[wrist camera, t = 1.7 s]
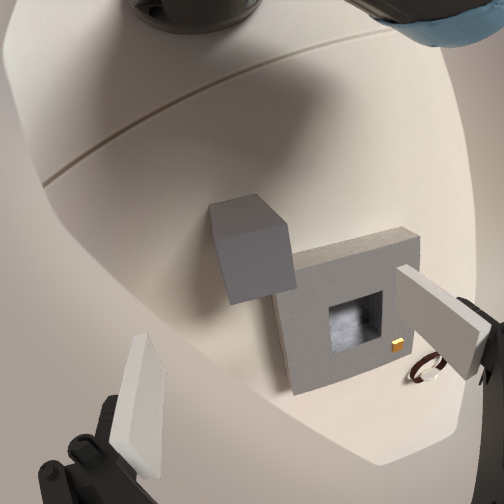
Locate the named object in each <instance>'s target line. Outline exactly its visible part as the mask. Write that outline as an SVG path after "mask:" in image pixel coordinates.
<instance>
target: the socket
mask: <svg viewBox="0 0 504 504" xmlns="http://www.w3.org/2000/svg"><path fill="white" fill-rule="evenodd" d="M292 258H293V264H294V271H295V278H296V285H297V288H296V289H292V290H288V291H285V292H281V293H277V294H273V295H271V296H272V301H273V307H274V312H275V317H276V323H277V328H278V333H279V339H280V344H281V349H282V355H283V360H284V366H285V371H286V376H287V379H288V382H289V384H290V387H291V390H292V392H293V395H294V396H295V395H298V394H302V393H305V392H308V391H312V390H315V389H318V388H321V387H324V386H327V385H330V384H333V383H336V382H339V381H342V380H345V379H348V378H351V377H353V376H356V375H359V374H362V373H364V372H367V371H370V370H372V369H375V368H377V367H380V366H382V365H385V364H387V363H390V362H392V361H394V360H397V359H399V358H402V357H404V356H406V355H408V354H411V352H412V345H413V337H414V329H413V328H412V327H411V326H410V325H409V324H408V323H407V322H406V321H405V320H404V319H403V318H402V317H401V316H400V315H399V314H398V313H397V312H396V311H395V295H396V268H397V267H400V266H403V265H406V264H408V265H409V266H411V267H412V268H414V269H415V270H417V271H418V272H419V266H420V236H419V235H417V234H415V233H413V232H411V231H409V230H408V229H406V228H404V227H398V228H394V229H390V230H386V231H383V232H379V233H375V234H371V235H367V236H363V237H359V238H355V239H351V240H347V241H343V242H339V243H335V244H331V245H327V246H323V247H320V248H316V249H312V250H307V251H303V252H299V253H295V254H292Z"/></svg>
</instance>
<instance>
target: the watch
mask: <svg viewBox="0 0 504 504" xmlns="http://www.w3.org/2000/svg"><path fill="white" fill-rule="evenodd" d="M436 356H440V354H439V353H438V352H434V353H431V354H428V355H427V356H425V357H423V359H421V360H420V361H418V362H417V363H416V364H415V365H414V366H413V368H412V369H411V372H410V378H411V379H412V380H413V381H414V382H415V383H421V382H423V381H432V380H434V379H436V377H437V376H438V372H439V371H440V370H442V369H443V368H444V367H445V365H446V364H447V361H446V360H445V359H444V358H443V357H442V360H441V362H440V363H439V364H438V365H437V366H436V367H434V368H429V369H426V370H425V371H423V372H422V374H421V376H420V377H418V378H415V379H414V376H415V374H416V372H417V371H418V370H419V368H420V367H421V366H422V365H424V364H425V363H427V362H428V361H430V360H432V359H434V358H435V357H436Z"/></svg>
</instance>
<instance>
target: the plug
mask: <svg viewBox="0 0 504 504" xmlns="http://www.w3.org/2000/svg"><path fill="white" fill-rule="evenodd" d="M209 208H210V215H211V223H212V230H213V237H214V243H215V247H216V251H217V255H218V259H219V263H220V266H221V270H222V274H223V278H224V282H225V286H226V290H227V294H228V297H229V301H230V305H233V304H237V303H241V302H245V301H249V300H253V299H257V298H261V297H265V296H269V295H273V294H277V293H281V292H285V291H288V290H292V289H296V288H297V285H296V278H295V271H294V264H293V258H292V251H291V245H290V239H289V232H288V226H287V223H286V222H285V221H284V220H283V219H282V218H281V217H280V216H279V215H278V214H277V213H276V212H275V211H274V210H273V209H272V208H270V207H269V206H268V205H267V204H266V203H265V202H264V201H263V200H262V199H261V198H260V197H259V196H258V195H257V194H255V195H250V196H246V197H241V198H237V199H233V200H228V201H224V202H220V203H215V204H211V205H209Z"/></svg>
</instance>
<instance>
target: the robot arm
mask: <svg viewBox="0 0 504 504" xmlns="http://www.w3.org/2000/svg"><path fill="white" fill-rule="evenodd" d="M261 1H262V0H128V2H129V4H130V6H131V8H132V9H133V11H134V12H135V13H136V15H137V16H138V17H139V18H140V19H142V20H143V21H144V22H146V23H147V24H149V25H151V26H153V27H155V28H157V29H160V30H163V31H167V32H171V33H177V34H203V33H209V32H214V31H218V30H221V29H224V28H227V27H230V26H232V25H234V24H236V23H238V22H240V21H241V20H243V19H244V18H246V17H247V16H248V15H250V14H251V13H252V12H253V11H254V10H255V9H256V8H257V7H258V5H259V4H260V3H261ZM344 1H346V2H348V3H350V4H352V5H353V6H355V7H357V8H359V9H360V10H362V11H364V12H366V13H367V14H369V16H370V17H371V18H373V19H374V20H376V21H377V22H379V23H381V24H383V25H386V26H389V27H392V28H394V29H395V30H397V31H399V32H400V33H402V34H404V35H405V36H407V37H408V38H410V39H412V40H413V41H415V42H417V43H420V44H422V45H425V46H429V47H444V48H454V47H455V48H456V47H462V46H466V45H470V44H473V43H476V42H479V41H481V40H483V39H485V38H487V37H489V36H491V35H493V34H494V33H496V32H497V31H499V30H500V29H501V28H503V27H504V0H344ZM395 311H396V312H397V313H398V314H399V315H400V316H401V317H402V318H403V319H404V320H405V321H406V322H407V323H408V324H409V325H410V326H411V327H412V328H413V329H414V330H416V331H417V332H418V333H419V334H420V335H421V336H422V337H423V338H424V339H425V340H426V341H427V342H428V343H429V344H430V345H431V346H432V347H433V348H434V349H435V350H436V351H437V352H438V353H439V354H440V355H441V356H442V357H443V358H444V359H445V360H446V361H447V362H448V363H449V364H450V365H451V366H452V367H453V368H454V369H455V371H456V372H457V373H458V374H459V375H460V376H461V377H462V378H463V379H464V380H465V381H466V380H467V379H469V378H471V377H472V376H474V375H475V374H477V372H478V368H479V366H480V364H481V365H483V366H484V367H485V368H484V370H483V374H482V376H481V379H480V382H479V385H481V383H482V381H483V417H482V433H481V445H480V455H479V463H478V470H477V476H476V483H475V488H474V494H473V498H472V502H471V504H504V322H503V323H498V322H497V321H496V320H494V319H493V318H492V317H490V316H489V315H488V314H486V313H485V312H484V311H482V310H480V309H479V308H478V307H477V306H475V305H474V304H473V303H471V302H470V301H469V300H467V299H464V298H461V297H457V298H455V297H454V296H452V295H451V294H449V293H448V292H447V291H445V290H444V289H442V288H441V287H440V286H438V285H437V284H435V283H434V282H433V281H431V280H430V279H428V278H427V277H425V276H424V275H422V274H421V273H420V272H418V271H417V270H415V269H414V268H412V267H411V266H409V265H408V264H406V265H403V266H400V267H397V268H396V295H395ZM165 383H166V372H165V370H164V367H163V365H162V363H161V361H160V359H159V357H158V355H157V352H156V350H155V348H154V346H153V344H152V342H151V339H150V337H149V334H148V333H144V334H138V335H134V336H133V340H132V344H131V347H130V351H129V355H128V359H127V363H126V367H125V371H124V375H123V379H122V383H121V387H120V391H119V395H111V396H108V398H107V399H106V400H105V402H104V403H103V405H102V409H101V415H100V417H99V422H98V425H97V429H96V434H95V437H94V436H93V435H90V434H82V435H79V436H77V437H75V438H74V439H73V440H72V441H71V442H70V444H69V446H68V455H69V457H70V458H71V459H72V460H73V461H74V462H75V464H71V465H67V466H63V465H62V464H61V463H60V462H59V461H56V460H51V461H48V462H46V463H44V464H43V465H42V466H41V467H40V470H39V472H38V478H39V484H40V489H41V495H42V500H43V504H157V502H156V501H155V500H154V499H153V498H152V497H151V496H150V495H149V494H148V493H147V492H146V491H145V490H144V489H143V488H142V487H141V486H140V485H139V484H138V483H137V482H136V475H137V474H138V475H139V476H140V477H141V478H142V479H160V478H161V448H162V427H163V410H164V396H165Z"/></svg>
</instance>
